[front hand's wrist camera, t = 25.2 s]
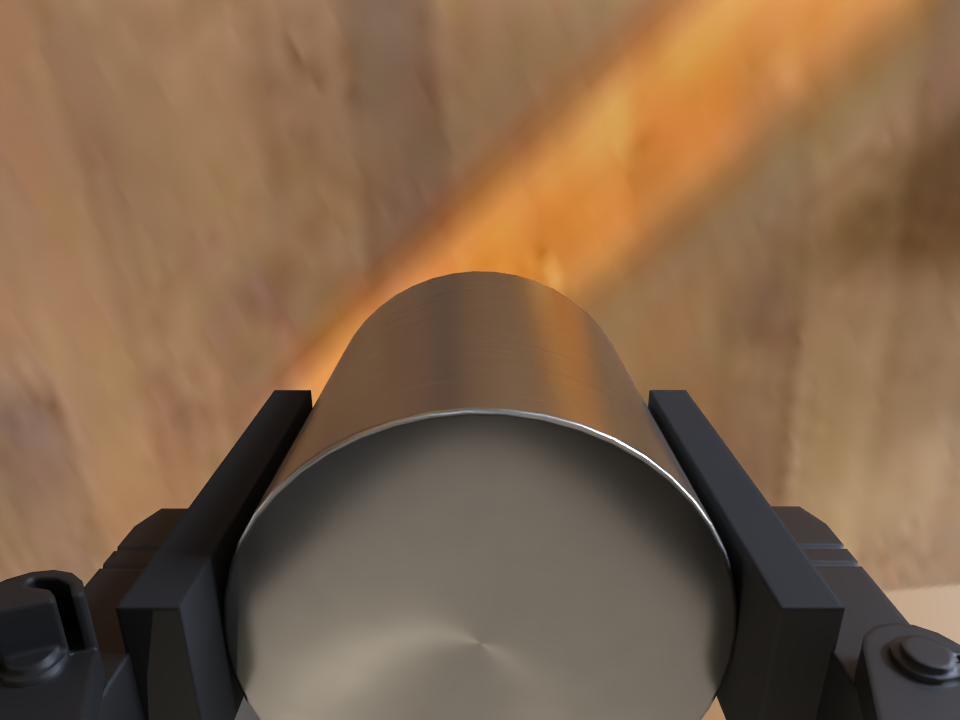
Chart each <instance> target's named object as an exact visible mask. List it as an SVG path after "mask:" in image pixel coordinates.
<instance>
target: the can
mask: <svg viewBox="0 0 960 720" xmlns="http://www.w3.org/2000/svg"><path fill="white" fill-rule="evenodd" d="M223 625H224V633H225V640H226V648H227V652H228V656H229V659H230V662H231V666H232V669H233V672H234V676H235V678H236V680H237V682H238V684H239V686H240V688H241V690H242V692H243V695H244V697H245V699H246V701H247V702H248V704H249V705H250V707H251V708H252V710H253V711H254V713H255V714H256V716H257V717H258V719H259V720H701V719H702V718H703V716H704V715H705V714H706V712H707V711H708V710H709V708H710V706H711V704H712V702H713V701H714V699H715V697H716V695H717V693H718V692H719V690H720V688H721V686H722V684H723V681H724V678H725V676H726V673H727V670H728V667H729V665H730V662H731V659H732V653H733V648H734V643H735V638H736V632H737V596H736V589H735V581H734V575H733V572H732V569H731V566H730V562H729V559H728V556H727V553H726V549H725V547H724V545H723V543H722V541H721V539H720V537H719V535H718V533H717V531H716V529H715V527H714V525H713V523H712V521H711V520H710V518H709V516H708V514H707V512H706V511H705V509H704V507H703V505H702V504H701V502H700V500H699V498H698V496H697V495H696V493H695V491H694V489H693V487H692V486H691V484H690V482H689V480H688V479H687V477H686V475H685V473H684V471H683V470H682V468H681V466H680V464H679V463H678V461H677V459H676V457H675V455H674V454H673V452H672V450H671V448H670V447H669V445H668V443H667V441H666V439H665V438H664V436H663V434H662V432H661V431H660V429H659V427H658V425H657V423H656V422H655V420H654V418H653V416H652V415H651V413H650V411H649V409H648V407H647V406H646V404H645V402H644V400H643V399H642V397H641V395H640V393H639V391H638V390H637V388H636V386H635V384H634V382H633V381H632V379H631V377H630V375H629V374H628V372H627V370H626V368H625V366H624V365H623V363H622V361H621V359H620V358H619V356H618V354H617V352H616V350H615V349H614V347H613V345H612V343H611V342H610V340H609V339H608V337H607V336H606V334H605V333H604V332H603V330H602V329H601V327H600V326H599V325H598V324H597V323H596V322H595V321H594V320H593V319H592V317H591V316H590V315H589V314H588V313H587V312H586V311H585V310H583V309H582V308H581V307H580V306H578V305H577V304H576V303H575V302H573V301H572V300H571V299H569V298H568V297H566V296H564V295H563V294H561V293H559V292H558V291H556V290H555V289H552V288H550V287H548V286H546V285H543V284H541V283H539V282H536V281H534V280H530V279H527V278H523V277H520V276H516V275H511V274H505V273H498V272H475V271H473V272H464V273H454V274H449V275H445V276H441V277H437V278H432V279H430V280H427V281H425V282H422V283H419V284H417V285H414V286H412V287H410V288H408V289H406V290H405V291H403V292H401V293H399V294H397V295H395V296H394V297H393V298H391V299H390V300H389V301H387V302H386V303H384V304H383V305H382V306H380V307H379V308H378V309H377V310H376V311H375V312H374V313H373V314H372V315H371V316H370V317H369V318H368V319H367V320H366V321H365V322H364V323H363V324H362V326H361V327H360V328H359V329H358V331H357V332H356V333H355V335H354V336H353V338H352V339H351V341H350V343H349V345H348V346H347V348H346V350H345V352H344V353H343V355H342V357H341V359H340V360H339V362H338V364H337V366H336V368H335V369H334V371H333V373H332V375H331V377H330V378H329V380H328V382H327V384H326V385H325V387H324V389H323V391H322V393H321V394H320V396H319V398H318V400H317V402H316V403H315V405H314V407H313V409H312V410H311V412H310V414H309V416H308V418H307V419H306V421H305V423H304V425H303V427H302V428H301V430H300V432H299V434H298V435H297V437H296V439H295V441H294V443H293V444H292V446H291V448H290V450H289V452H288V453H287V455H286V457H285V459H284V460H283V462H282V464H281V466H280V468H279V469H278V471H277V473H276V475H275V477H274V478H273V480H272V482H271V484H270V485H269V487H268V489H267V491H266V493H265V494H264V496H263V498H262V500H261V501H260V503H259V505H258V507H257V509H256V510H255V512H254V514H253V516H252V518H251V519H250V521H249V523H248V525H247V526H246V528H245V530H244V532H243V534H242V535H241V537H240V539H239V542H238V544H237V547H236V550H235V552H234V555H233V558H232V560H231V563H230V565H229V570H228V575H227V580H226V585H225V590H224V605H223Z"/></svg>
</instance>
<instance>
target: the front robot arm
mask: <svg viewBox="0 0 960 720" xmlns="http://www.w3.org/2000/svg"><path fill="white" fill-rule="evenodd" d="M312 409H313V408H312V397H311V390H275V391H274V392H273V393H272V395H271V396H270V397H269V399H268V400H267V401H266V403H265V404H264V406H263V407H262V408H261V410H260V411H259V412H258V414H257V415H256V417H255V418H254V419H253V421H252V422H251V423H250V425H249V426H248V427H247V429H246V430H245V432H244V433H243V434H242V436H241V437H240V438H239V440H238V441H237V442H236V444H235V445H234V447H233V448H232V449H231V451H230V452H229V453H228V455H227V456H226V458H225V459H224V460H223V462H222V463H221V464H220V466H219V467H218V468H217V470H216V471H215V473H214V474H213V475H212V477H211V478H210V479H209V481H208V482H207V484H206V485H205V486H204V488H203V489H202V490H201V492H200V493H199V494H198V496H197V497H196V499H195V500H194V501H193V503H192V504H191V505H190V507H189V508H188V509H160V510H159V511H157V512H156V513H154V514H153V515H151V516H150V517H148V518H147V519H145V520H144V521H142V522H141V523H139V524H138V525H136V526H135V527H134V528H133V529H132V530H131V531H130V533H129V534H128V535H127V536H126V537H125V539H124V540H123V541H122V542H121V544H120V545H119V546H118V549H117V551H114V552H113V553H112V554H111V556H110V557H109V558H108V559H107V560H106V562H105V563H104V564H103V569H99V570H98V571H97V573H96V574H95V575H94V576H93V577H92V579H91V580H90V581H89V582H88V583H87V585H86V586H85V587H84V586H83V582H82V581H81V580H80V579H79V578H78V577H76V576H75V575H74V574H72V573H69V572H63V571H57V570H49V571H39V572H31V573H27V574H24V575H20V576H17V577H13V578H10V579H6V580H4V581H2V582H0V720H234V719H235V717H236V714H237V712H238V709H239V707H240V704H241V702H242V699H243V697H244V695H243V692H242V690H241V688H240V686H239V684H238V682H237V680H236V678H235V676H234V672H233V669H232V666H231V662H230V659H229V656H228V652H227V648H226V640H225V633H224V625H223V605H224V590H225V585H226V580H227V575H228V570H229V565H230V563H231V560H232V558H233V555H234V552H235V550H236V547H237V544H238V542H239V539H240V537H241V535H242V534H243V532H244V530H245V528H246V526H247V525H248V523H249V521H250V519H251V518H252V516H253V514H254V512H255V510H256V509H257V507H258V505H259V503H260V501H261V500H262V498H263V496H264V494H265V493H266V491H267V489H268V487H269V485H270V484H271V482H272V480H273V478H274V477H275V475H276V473H277V471H278V469H279V468H280V466H281V464H282V462H283V460H284V459H285V457H286V455H287V453H288V452H289V450H290V448H291V446H292V444H293V443H294V441H295V439H296V437H297V435H298V434H299V432H300V430H301V428H302V427H303V425H304V423H305V421H306V419H307V418H308V416H309V414H310V412H311V410H312ZM648 409H649V411H650V413H651V415H652V416H653V418H654V420H655V422H656V423H657V425H658V427H659V429H660V431H661V432H662V434H663V436H664V438H665V439H666V441H667V443H668V445H669V447H670V448H671V450H672V452H673V454H674V455H675V457H676V459H677V461H678V463H679V464H680V466H681V468H682V470H683V471H684V473H685V475H686V477H687V479H688V480H689V482H690V484H691V486H692V487H693V489H694V491H695V493H696V495H697V496H698V498H699V500H700V502H701V504H702V505H703V507H704V509H705V511H706V512H707V514H708V516H709V518H710V520H711V521H712V523H713V525H714V527H715V529H716V531H717V533H718V535H719V537H720V539H721V541H722V543H723V545H724V547H725V549H726V553H727V556H728V559H729V562H730V566H731V569H732V572H733V575H734V581H735V589H736V596H737V632H736V638H735V643H734V648H733V653H732V659H731V662H730V665H729V667H728V670H727V673H726V676H725V678H724V681H723V684H722V686H721V688H720V690H719V692H718V693H717V695H716V696H717V698H718V701H719V703H720V706H721V708H722V711H723V713H724V715H725V718H726V720H960V645H959V644H957V643H955V642H954V641H952V640H950V639H948V638H946V637H944V636H942V635H941V634H939V633H936V632H933V631H930V630H927V629H924V628H921V627H918V626H915V625H910V624H909V623H908V622H907V621H906V619H905V618H904V617H903V616H902V615H901V613H900V612H899V611H898V610H897V609H896V607H895V606H894V605H893V604H892V603H891V601H890V600H889V599H888V598H887V597H886V595H885V594H884V593H883V592H882V591H881V589H880V588H879V587H878V586H877V585H876V583H875V582H874V581H873V580H872V579H871V577H870V576H869V575H868V574H867V573H866V571H865V570H864V569H863V568H862V567H859V566H858V562H857V561H856V559H855V558H854V557H853V556H852V555H851V553H850V552H849V551H848V550H847V549H844V547H843V544H842V543H841V541H840V540H839V539H838V538H837V537H836V535H835V534H834V533H833V532H832V531H831V529H830V528H829V527H828V526H827V525H826V524H825V523H824V522H822V521H821V520H819V519H817V518H816V517H814V516H813V515H811V514H810V513H808V512H807V511H805V510H804V509H802V508H801V507H771V506H770V505H769V503H768V502H767V501H766V499H765V498H764V497H763V495H762V494H761V492H760V491H759V490H758V488H757V487H756V486H755V484H754V483H753V482H752V480H751V479H750V477H749V476H748V475H747V473H746V472H745V471H744V469H743V468H742V466H741V465H740V464H739V462H738V461H737V460H736V458H735V457H734V456H733V454H732V453H731V451H730V450H729V449H728V447H727V446H726V445H725V443H724V442H723V440H722V439H721V438H720V436H719V435H718V434H717V432H716V431H715V430H714V428H713V427H712V425H711V424H710V423H709V421H708V420H707V419H706V417H705V416H704V415H703V413H702V412H701V410H700V409H699V408H698V406H697V405H696V404H695V402H694V401H693V399H692V398H691V397H690V395H689V394H688V393H687V391H686V390H650V391H649V402H648Z"/></svg>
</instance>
